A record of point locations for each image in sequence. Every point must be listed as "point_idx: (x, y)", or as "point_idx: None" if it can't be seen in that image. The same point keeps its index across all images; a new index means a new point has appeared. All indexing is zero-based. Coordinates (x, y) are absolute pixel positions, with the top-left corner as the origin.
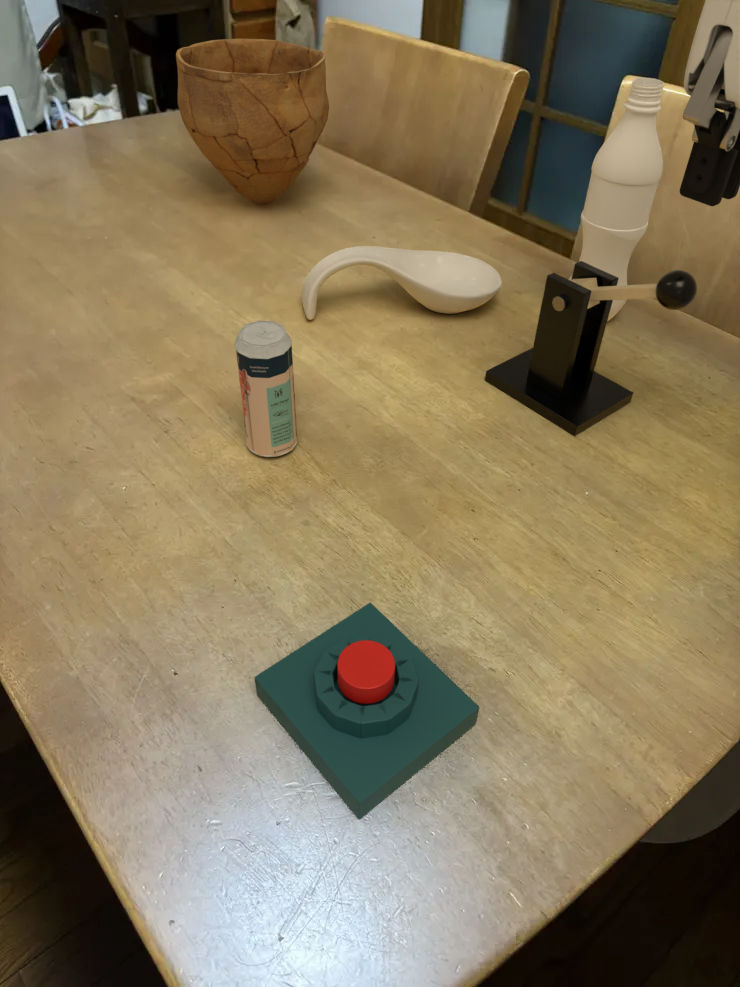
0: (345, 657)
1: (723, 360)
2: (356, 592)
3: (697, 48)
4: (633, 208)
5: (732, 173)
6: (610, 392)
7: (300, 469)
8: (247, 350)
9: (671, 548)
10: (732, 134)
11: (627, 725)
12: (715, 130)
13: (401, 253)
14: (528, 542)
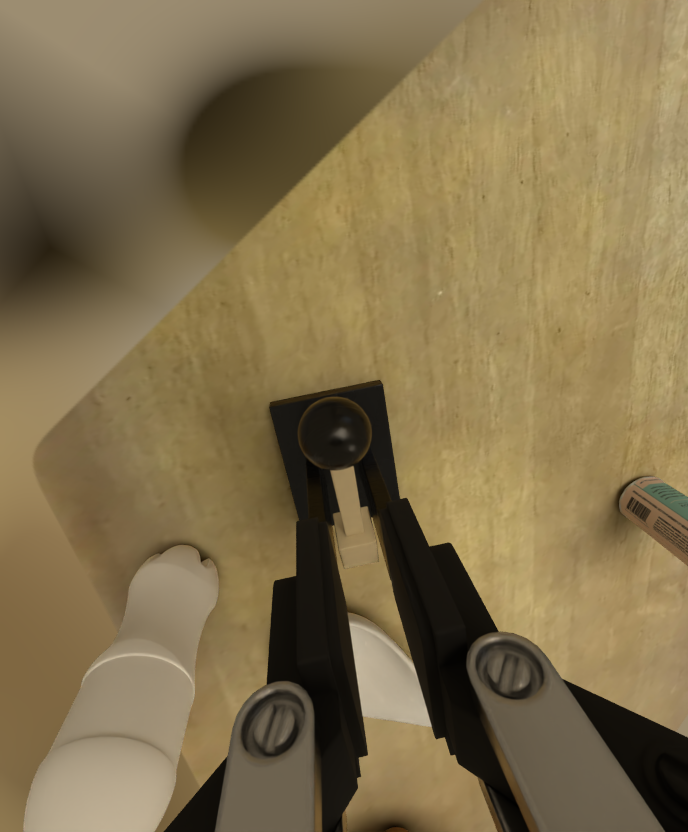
0: None
1: (76, 420)
2: None
3: None
4: (136, 692)
5: (335, 582)
6: (297, 419)
7: (642, 455)
8: None
9: (427, 163)
10: (548, 704)
11: None
12: (676, 736)
13: (381, 711)
14: (549, 260)
